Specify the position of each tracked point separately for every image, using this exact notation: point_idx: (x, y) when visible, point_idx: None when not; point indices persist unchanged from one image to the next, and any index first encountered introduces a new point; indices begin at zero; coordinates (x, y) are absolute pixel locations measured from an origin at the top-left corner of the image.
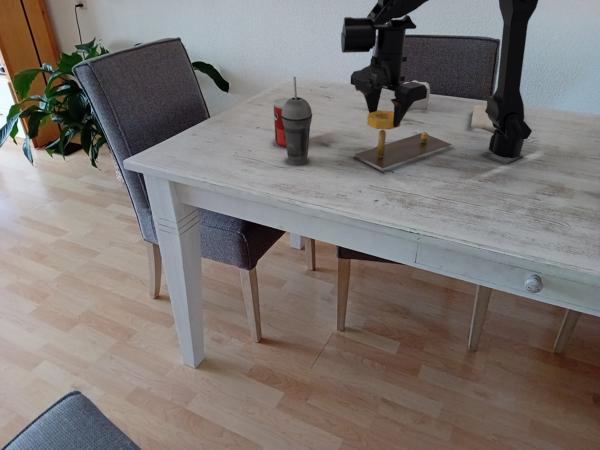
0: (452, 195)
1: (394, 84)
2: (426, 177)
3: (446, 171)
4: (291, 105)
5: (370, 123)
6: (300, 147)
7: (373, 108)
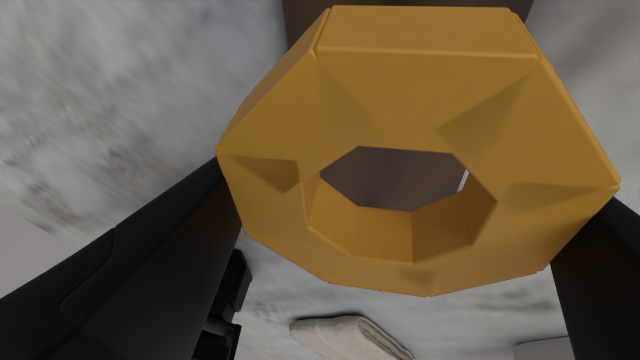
0: (13, 21)
1: None
2: (169, 61)
3: (194, 141)
4: None
5: (451, 21)
6: None
7: (594, 273)
